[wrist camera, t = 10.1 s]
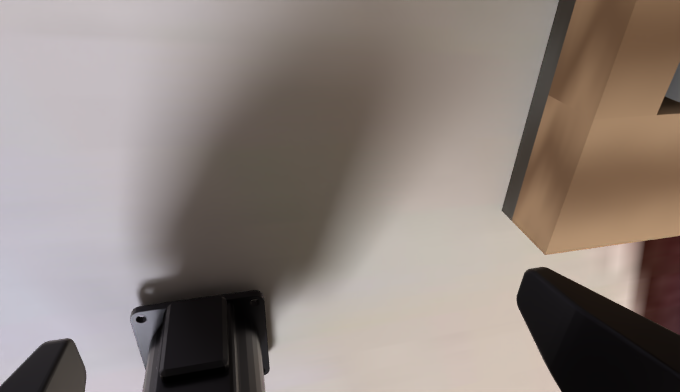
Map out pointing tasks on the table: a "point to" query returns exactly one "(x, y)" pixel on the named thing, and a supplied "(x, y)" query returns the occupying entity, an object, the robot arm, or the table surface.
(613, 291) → the table surface
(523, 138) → the socket block
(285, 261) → the table surface
